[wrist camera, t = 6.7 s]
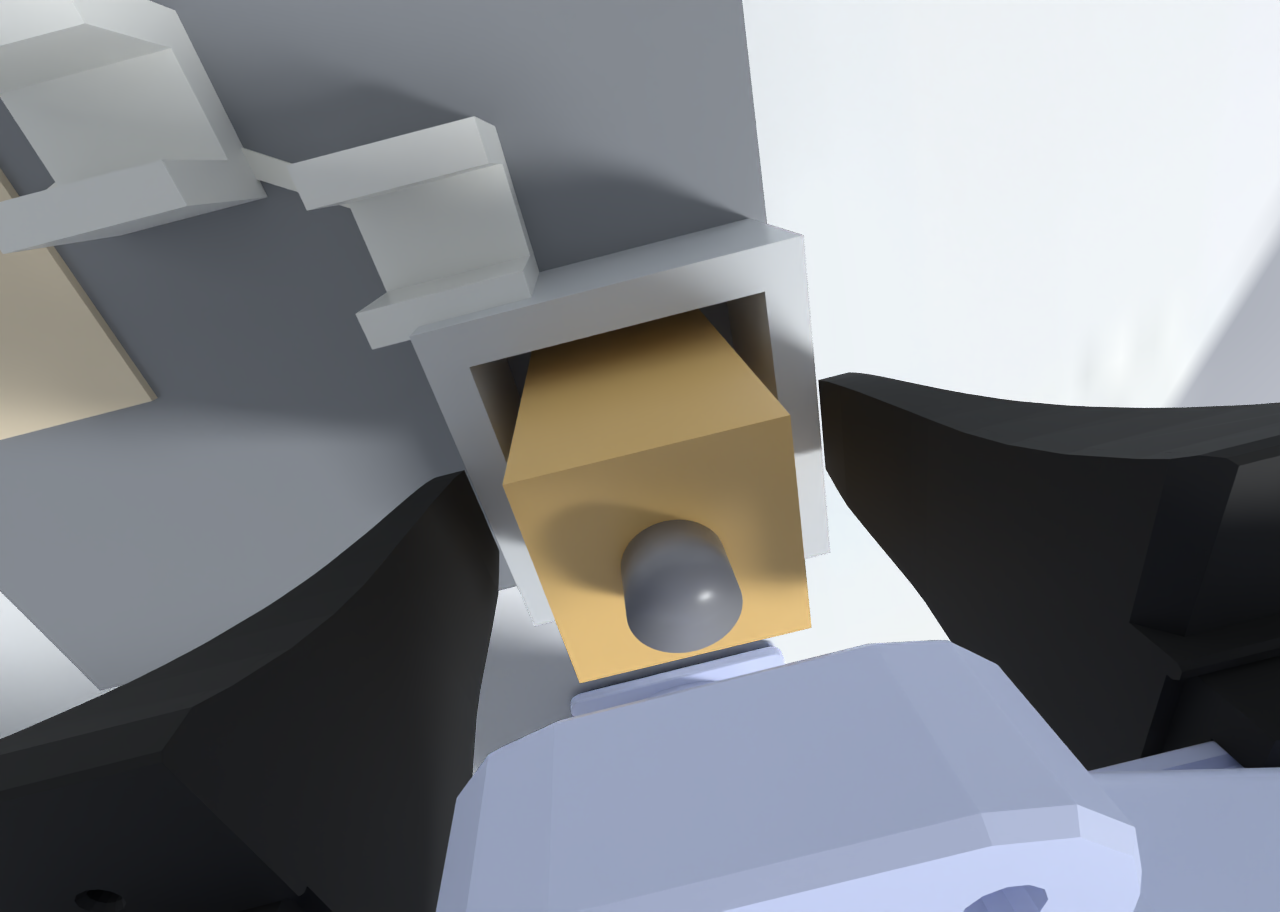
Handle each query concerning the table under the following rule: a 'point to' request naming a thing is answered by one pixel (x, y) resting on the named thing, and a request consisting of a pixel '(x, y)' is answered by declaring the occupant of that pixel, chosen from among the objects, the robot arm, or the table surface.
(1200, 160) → the table surface
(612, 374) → the connector plug
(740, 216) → the cable board
